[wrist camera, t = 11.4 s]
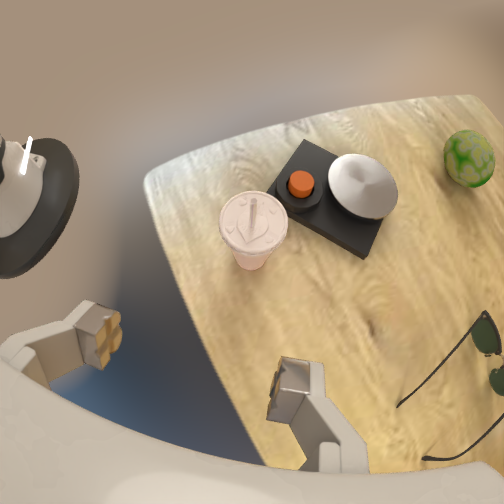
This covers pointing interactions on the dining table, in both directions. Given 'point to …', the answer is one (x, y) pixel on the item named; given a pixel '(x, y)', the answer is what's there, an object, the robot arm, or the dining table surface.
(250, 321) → the dining table surface
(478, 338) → the sunglasses
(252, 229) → the smoothie
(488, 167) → the decorative ball
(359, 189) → the scale pan
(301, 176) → the tare button
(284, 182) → the scale
